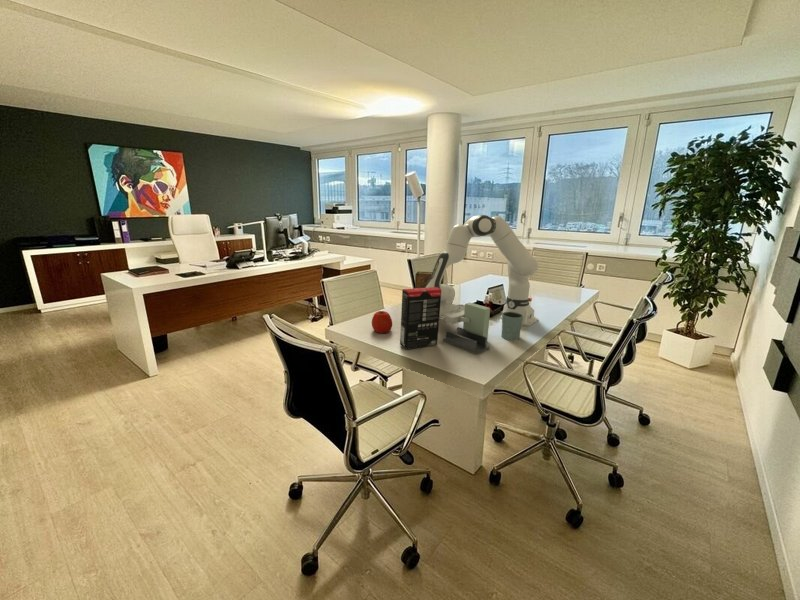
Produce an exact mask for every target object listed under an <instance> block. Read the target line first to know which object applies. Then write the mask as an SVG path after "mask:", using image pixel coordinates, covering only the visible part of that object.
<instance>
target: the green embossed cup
mask: <svg viewBox="0 0 800 600" xmlns="http://www.w3.org/2000/svg"><path fill="white" fill-rule="evenodd" d="M501 316H502V319H501V338H502V339H504V340H507V341H518V340H520V336H521V330H522V326H523V325H522V321H523V315H522V314H520V313H516V312H504V313H503V312H502V313H501Z"/></svg>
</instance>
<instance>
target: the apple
mask: <svg viewBox="0 0 800 600" xmlns="http://www.w3.org/2000/svg"><path fill="white" fill-rule="evenodd" d="M371 326H372V328H373V331H374V332H376V333H381V334H387V333H389V332H390V331H391V330H392V327H393V320H392V317H391V314H390V313H389V312H387V311H384V310H379V311H376V312H374V314H373V316H372V318H371Z"/></svg>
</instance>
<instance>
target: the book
mask: <svg viewBox="0 0 800 600" xmlns="http://www.w3.org/2000/svg"><path fill="white" fill-rule="evenodd" d="M432 272H433V271H416V273H415V281H414V289H415V288H425V286H426V285H427V283H428V281H429V279H430V277H431V274H432ZM444 277H445V274H444V275H443V278H442V280H441V284H444V280H445V278H444Z"/></svg>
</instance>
